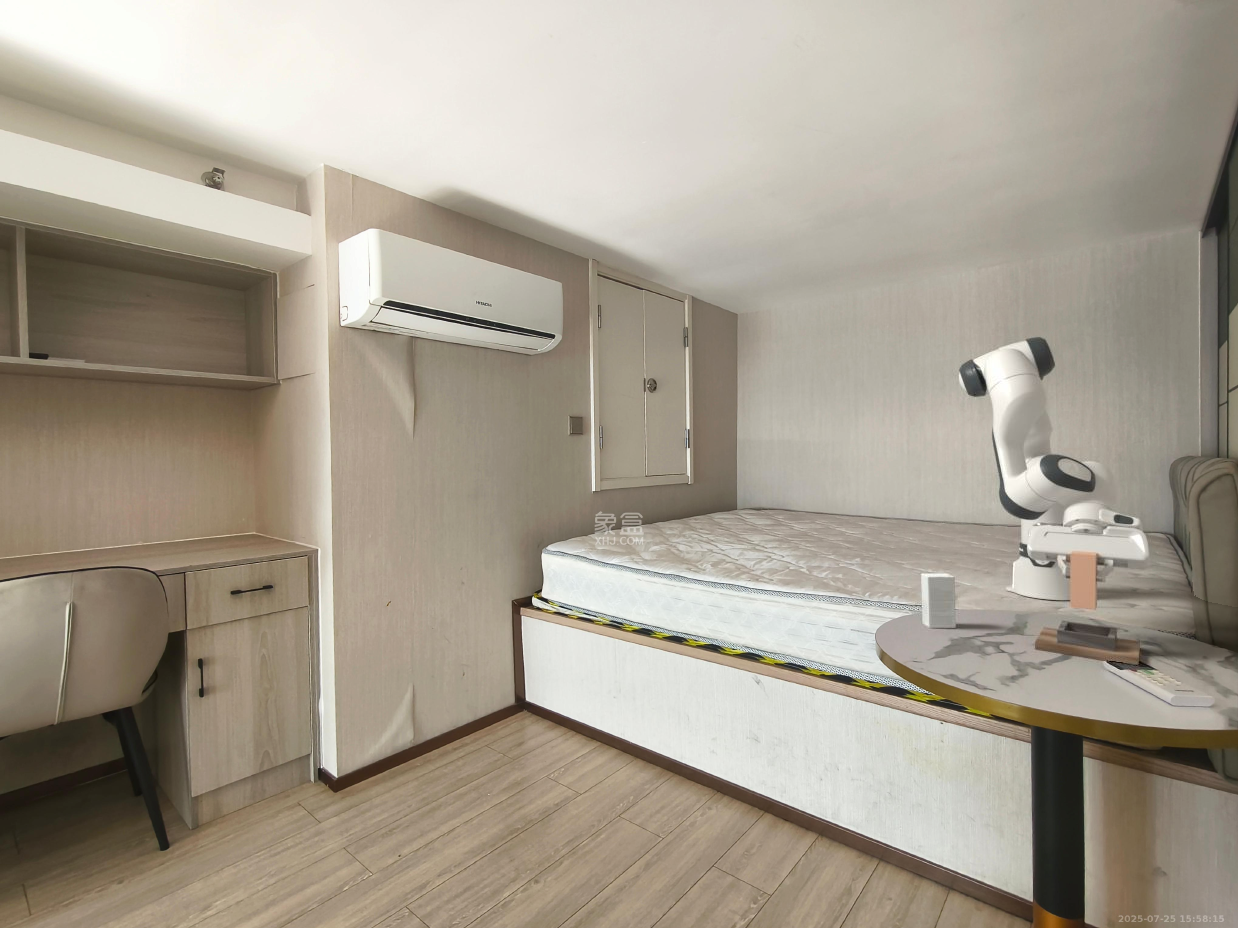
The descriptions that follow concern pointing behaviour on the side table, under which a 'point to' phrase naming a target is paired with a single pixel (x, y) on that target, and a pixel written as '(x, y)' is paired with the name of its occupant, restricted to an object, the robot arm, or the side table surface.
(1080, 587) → the peg
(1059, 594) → the robot arm
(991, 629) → the side table surface
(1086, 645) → the socket board
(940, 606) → the skincare box
